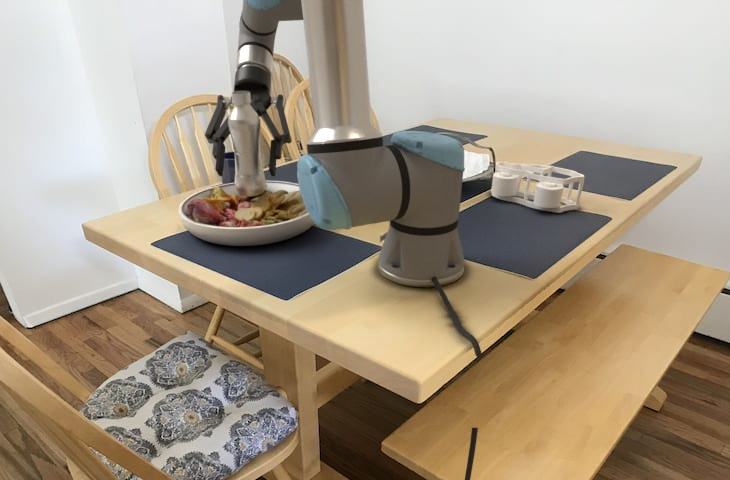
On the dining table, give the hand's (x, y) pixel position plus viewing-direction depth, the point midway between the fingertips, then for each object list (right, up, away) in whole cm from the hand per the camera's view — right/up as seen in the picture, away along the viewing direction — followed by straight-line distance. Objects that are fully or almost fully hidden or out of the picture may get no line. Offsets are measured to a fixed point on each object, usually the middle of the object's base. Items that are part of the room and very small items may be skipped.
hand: (245, 172), depth 110 cm
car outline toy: (+63, -2, +17) cm, 65 cm away
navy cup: (-7, +3, +28) cm, 29 cm away
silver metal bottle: (0, -3, +6) cm, 6 cm away
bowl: (0, -9, +9) cm, 13 cm away
